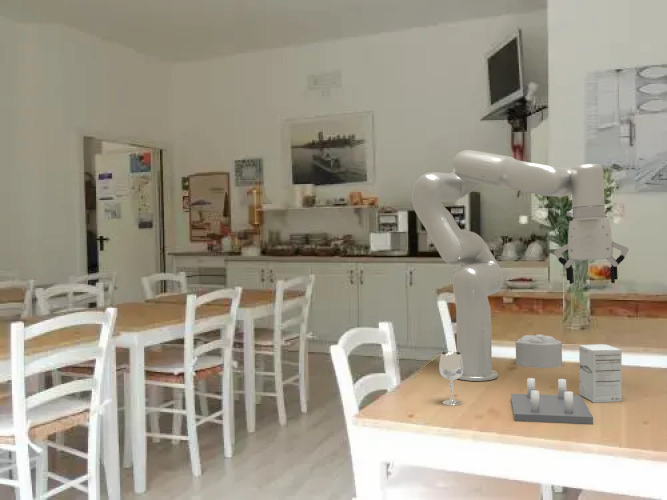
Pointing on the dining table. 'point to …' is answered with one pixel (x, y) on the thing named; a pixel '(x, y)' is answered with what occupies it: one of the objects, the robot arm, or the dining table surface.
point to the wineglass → (451, 371)
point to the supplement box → (600, 373)
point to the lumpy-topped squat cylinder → (538, 351)
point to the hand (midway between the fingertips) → (592, 283)
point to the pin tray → (550, 406)
